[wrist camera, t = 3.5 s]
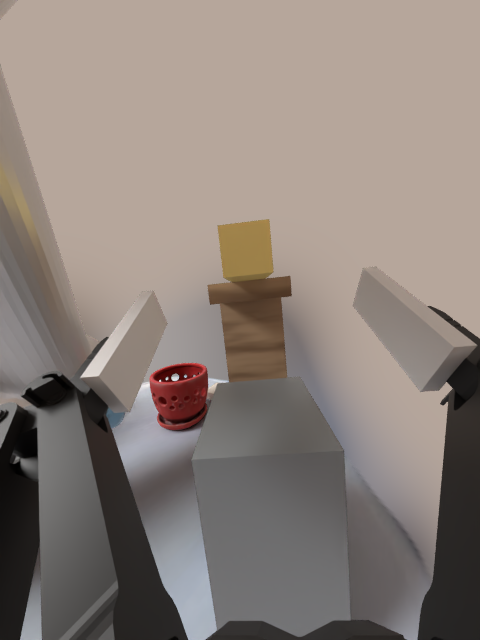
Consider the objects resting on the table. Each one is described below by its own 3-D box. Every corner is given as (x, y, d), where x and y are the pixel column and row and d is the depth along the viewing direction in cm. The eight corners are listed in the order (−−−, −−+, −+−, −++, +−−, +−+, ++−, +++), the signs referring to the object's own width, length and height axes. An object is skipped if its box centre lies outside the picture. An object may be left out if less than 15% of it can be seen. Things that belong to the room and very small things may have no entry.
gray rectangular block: (352, 664, 16) (343, 450, 13) (222, 664, 16) (191, 459, 14) (308, 506, 27) (299, 376, 25) (233, 509, 28) (217, 383, 25)
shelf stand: (305, 495, 28) (290, 276, 24) (234, 498, 29) (207, 284, 25) (284, 419, 45) (273, 282, 41) (239, 422, 46) (224, 287, 42)
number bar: (273, 272, 16) (269, 219, 16) (223, 277, 16) (217, 225, 16) (259, 283, 38) (257, 261, 37) (238, 285, 38) (235, 263, 38)
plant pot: (177, 445, 41) (168, 388, 39) (146, 423, 49) (138, 375, 48) (223, 412, 51) (217, 365, 49) (191, 398, 59) (185, 358, 58)
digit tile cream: (204, 399, 59) (203, 391, 58) (218, 389, 64) (217, 382, 63) (221, 403, 55) (219, 395, 55) (233, 393, 60) (232, 385, 60)
